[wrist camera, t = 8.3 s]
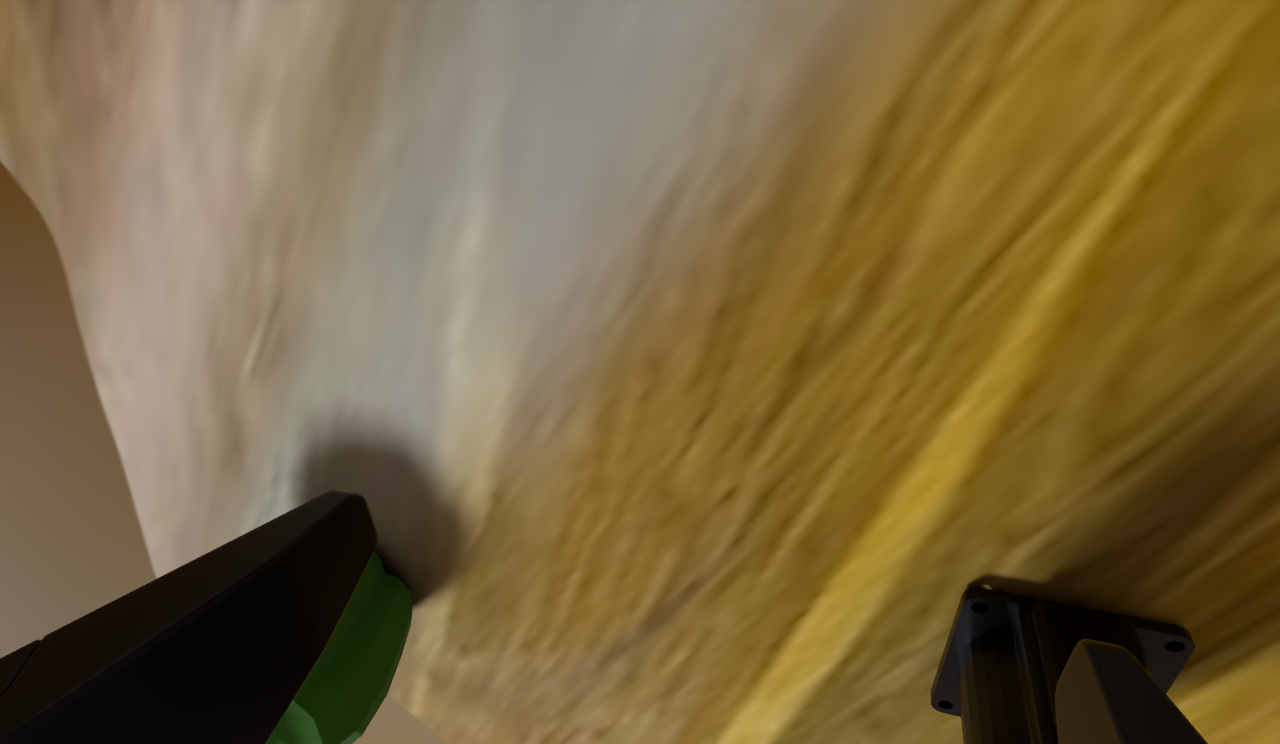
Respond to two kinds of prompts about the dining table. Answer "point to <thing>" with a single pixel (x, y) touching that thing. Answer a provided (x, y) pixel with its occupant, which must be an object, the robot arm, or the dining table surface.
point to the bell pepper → (352, 665)
